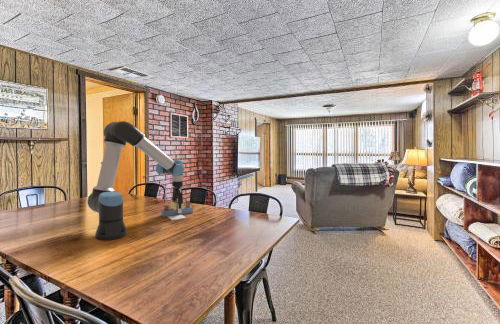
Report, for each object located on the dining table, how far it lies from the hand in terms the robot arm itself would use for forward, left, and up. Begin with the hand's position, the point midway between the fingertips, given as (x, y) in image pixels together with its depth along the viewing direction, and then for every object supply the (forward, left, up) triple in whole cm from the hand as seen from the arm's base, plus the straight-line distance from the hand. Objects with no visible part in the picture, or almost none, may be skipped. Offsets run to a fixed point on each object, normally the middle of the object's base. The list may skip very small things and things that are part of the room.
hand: (177, 211), depth 187 cm
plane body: (0, 0, -2) cm, 2 cm away
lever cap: (0, 0, +2) cm, 2 cm away
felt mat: (-10, +4, -2) cm, 11 cm away
